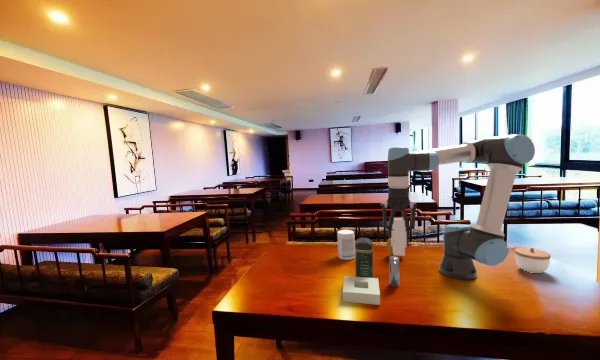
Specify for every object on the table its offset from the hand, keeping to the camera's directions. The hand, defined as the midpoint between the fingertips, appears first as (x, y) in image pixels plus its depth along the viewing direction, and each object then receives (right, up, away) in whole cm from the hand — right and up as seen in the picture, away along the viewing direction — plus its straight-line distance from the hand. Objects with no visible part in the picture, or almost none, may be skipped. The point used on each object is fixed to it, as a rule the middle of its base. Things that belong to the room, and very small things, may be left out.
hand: (398, 245), depth 103 cm
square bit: (0, -3, 0) cm, 3 cm away
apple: (+14, -17, +43) cm, 48 cm away
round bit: (+2, -20, +11) cm, 23 cm away
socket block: (-14, -21, +4) cm, 25 cm away
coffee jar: (-9, -20, +18) cm, 28 cm away
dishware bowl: (+70, -17, +20) cm, 75 cm away
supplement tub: (-13, -18, +45) cm, 50 cm away
